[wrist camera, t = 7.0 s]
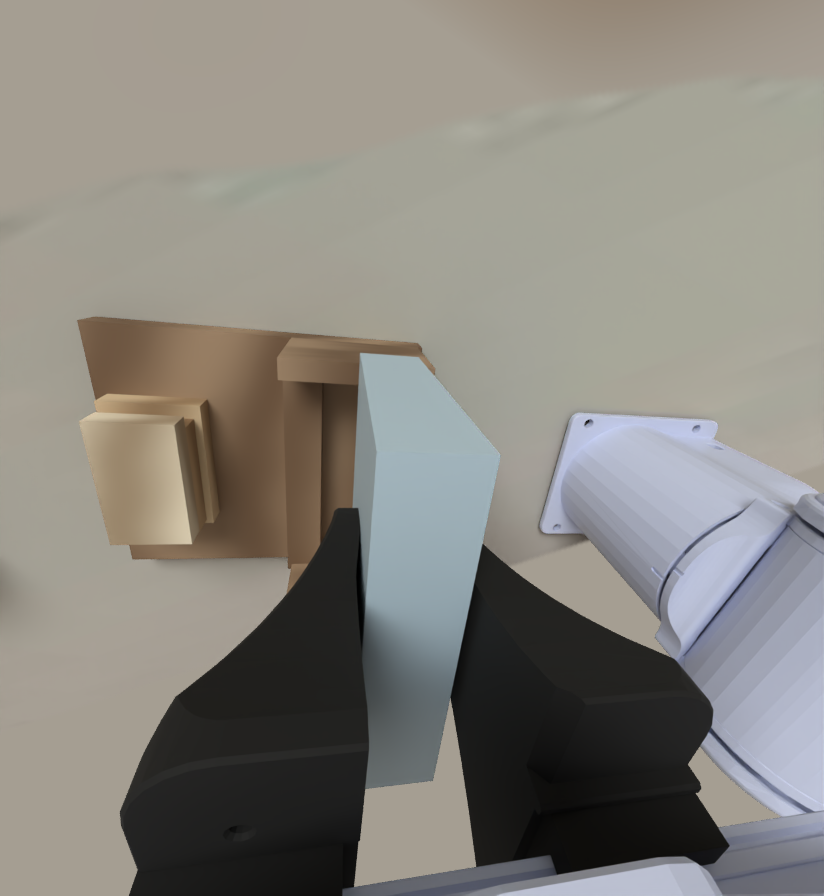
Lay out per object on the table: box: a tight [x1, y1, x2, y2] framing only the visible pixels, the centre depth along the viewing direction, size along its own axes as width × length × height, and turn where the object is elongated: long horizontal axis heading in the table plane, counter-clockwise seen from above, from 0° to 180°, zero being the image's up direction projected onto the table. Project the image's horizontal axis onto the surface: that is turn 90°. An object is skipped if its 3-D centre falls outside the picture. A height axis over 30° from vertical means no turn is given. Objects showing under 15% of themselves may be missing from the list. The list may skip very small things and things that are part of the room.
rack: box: [77, 317, 435, 593], centre depth 18 cm, size 14×12×5 cm
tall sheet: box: [353, 353, 501, 789], centre depth 12 cm, size 2×9×8 cm, turn 174°
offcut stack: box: [79, 394, 220, 545], centre depth 17 cm, size 4×6×3 cm, turn 174°
